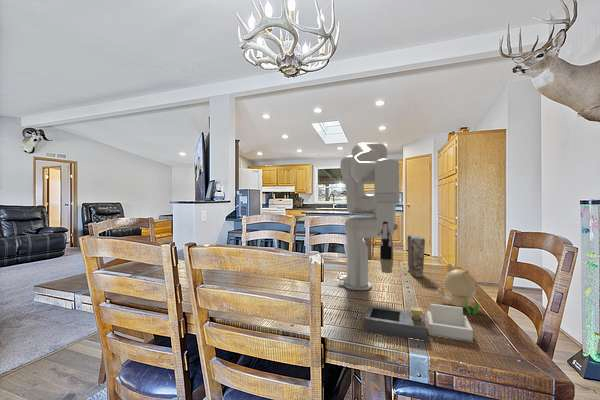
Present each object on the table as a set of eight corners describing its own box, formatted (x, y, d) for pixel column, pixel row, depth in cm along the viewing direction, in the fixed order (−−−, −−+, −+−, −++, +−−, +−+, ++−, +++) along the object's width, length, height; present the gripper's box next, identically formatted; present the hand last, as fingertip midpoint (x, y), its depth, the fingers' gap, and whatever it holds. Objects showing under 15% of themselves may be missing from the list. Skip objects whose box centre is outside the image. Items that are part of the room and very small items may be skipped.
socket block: (364, 331, 84) (364, 318, 84) (368, 317, 94) (368, 305, 94) (426, 342, 78) (426, 328, 78) (424, 325, 88) (424, 313, 87)
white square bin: (429, 335, 81) (429, 315, 81) (427, 321, 91) (427, 303, 91) (472, 342, 77) (472, 321, 77) (465, 327, 87) (465, 307, 87)
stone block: (426, 277, 140) (426, 238, 139) (412, 277, 140) (412, 238, 140) (417, 270, 153) (417, 234, 153) (404, 270, 153) (404, 234, 153)
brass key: (411, 333, 83) (411, 309, 83) (411, 328, 86) (411, 306, 85) (422, 334, 82) (422, 311, 82) (421, 330, 84) (421, 307, 84)
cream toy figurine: (489, 314, 96) (489, 271, 96) (464, 316, 95) (464, 272, 95) (458, 298, 111) (458, 261, 111) (436, 300, 109) (436, 262, 109)
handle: (398, 275, 84) (398, 225, 83) (376, 273, 85) (376, 225, 85) (396, 270, 88) (396, 223, 88) (375, 269, 90) (375, 223, 90)
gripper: (377, 198, 96) (377, 251, 96) (370, 199, 80) (370, 262, 80) (400, 198, 93) (400, 253, 93) (398, 199, 77) (398, 264, 78)
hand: (386, 256), depth 87 cm, fingers closed on handle, 3 cm apart
